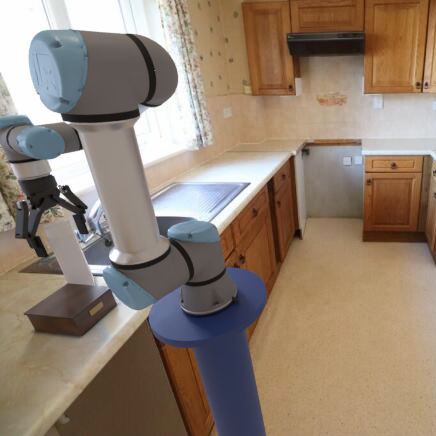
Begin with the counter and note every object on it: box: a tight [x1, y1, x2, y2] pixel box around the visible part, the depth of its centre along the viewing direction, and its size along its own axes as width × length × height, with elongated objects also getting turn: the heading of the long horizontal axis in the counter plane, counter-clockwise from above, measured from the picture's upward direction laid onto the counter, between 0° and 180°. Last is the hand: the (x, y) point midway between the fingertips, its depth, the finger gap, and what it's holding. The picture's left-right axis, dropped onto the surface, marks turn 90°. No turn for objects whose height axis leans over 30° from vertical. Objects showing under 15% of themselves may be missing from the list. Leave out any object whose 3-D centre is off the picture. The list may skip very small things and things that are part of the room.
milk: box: [42, 219, 96, 286], centre depth 97 cm, size 6×6×22 cm
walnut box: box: [23, 283, 118, 337], centre depth 87 cm, size 15×13×6 cm
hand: (65, 244), depth 95 cm, fingers open, 13 cm apart
